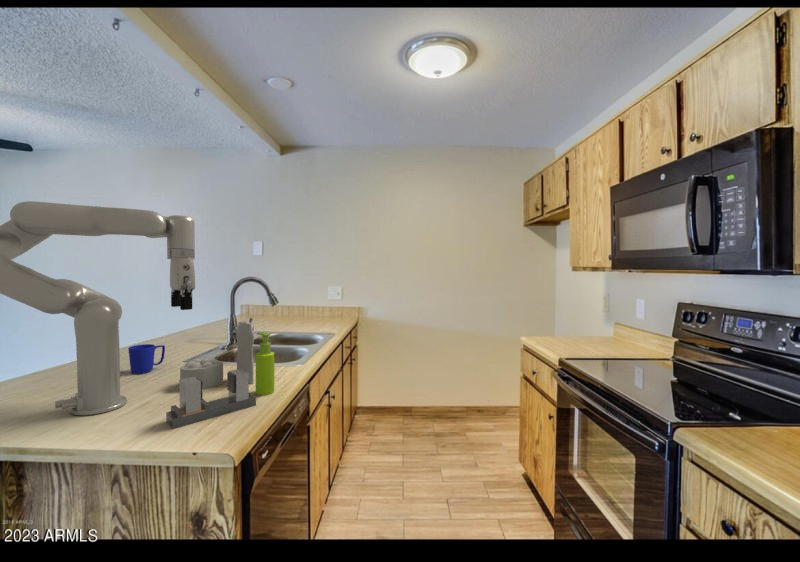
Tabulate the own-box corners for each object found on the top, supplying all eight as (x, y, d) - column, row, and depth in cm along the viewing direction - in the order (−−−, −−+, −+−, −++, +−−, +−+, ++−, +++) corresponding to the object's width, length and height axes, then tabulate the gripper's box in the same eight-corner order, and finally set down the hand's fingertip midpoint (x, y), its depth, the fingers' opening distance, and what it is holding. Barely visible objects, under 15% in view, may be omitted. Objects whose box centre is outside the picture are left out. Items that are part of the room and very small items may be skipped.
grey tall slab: (231, 379, 130) (231, 320, 129) (242, 376, 133) (242, 319, 132) (247, 385, 124) (248, 323, 123) (258, 382, 127) (258, 322, 126)
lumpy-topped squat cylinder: (226, 382, 127) (226, 358, 126) (189, 393, 116) (189, 367, 115) (210, 377, 132) (210, 354, 132) (173, 386, 121) (173, 362, 121)
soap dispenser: (266, 387, 123) (267, 330, 122) (277, 391, 118) (278, 333, 117) (250, 391, 118) (250, 332, 117) (261, 396, 114) (261, 335, 113)
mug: (169, 369, 140) (169, 344, 140) (134, 376, 130) (133, 350, 130) (159, 365, 145) (159, 341, 144) (124, 372, 135) (124, 347, 134)
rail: (172, 428, 91) (172, 389, 90) (166, 421, 95) (165, 383, 95) (255, 405, 107) (256, 371, 107) (247, 399, 111) (247, 367, 111)
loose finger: (186, 414, 93) (185, 384, 93) (179, 408, 97) (179, 379, 97) (203, 409, 96) (203, 381, 96) (196, 403, 100) (196, 376, 100)
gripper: (203, 255, 109) (203, 309, 110) (185, 255, 121) (186, 304, 122) (175, 254, 104) (176, 311, 105) (160, 254, 116) (160, 306, 116)
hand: (181, 307), depth 113 cm, fingers open, 9 cm apart
